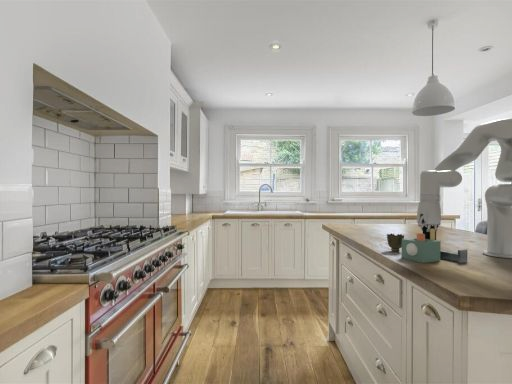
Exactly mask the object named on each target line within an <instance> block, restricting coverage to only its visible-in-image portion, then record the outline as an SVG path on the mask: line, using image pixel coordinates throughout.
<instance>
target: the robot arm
mask: <svg viewBox="0 0 512 384" xmlns="http://www.w3.org/2000/svg"><path fill="white" fill-rule="evenodd" d="M491 142H497V143H498V145H499V146H500V155H499V158H498V161H497V165H496V168H495V172H494V174H495V178H496V180H497V181H499V182H502V183H501V184H500V183H498V184H494V185H491V186H489V187H488V188H487V189H486V190H485V193H484V200H485V204H486V210H487V212H486V213H487V222H486V224H487V225H486V227H487V228H486V229H487V230H486V235H487V236H486V249H485V250H482V254H483V255H485V256H489V257H495V258H504V259H512V117H509V118H502V119H497V120H496V119H495V120H492V121H488V122H484V123H481V124H478V125H476V126H475V127H474V128H473V129H472V130H471V131H470V133H469V134H468V135H467V136H466V137H465V139H464V140H463V141H462V142H461V144H460V145H459V147H458V148H456V149H455V150H454V151H453V152H451V153H450V154H448V156H447V157H445V158H444V159H442V161H440V162H439V164H437V166H435V168H434V169H433V170H432V169H431V170H423V171H421V172H420V174H419V175H420V178H419V179H420V180H419V181H420V183H419V186H420V187H419V202H418V206H417V212H416V213H417V214H416V222H417V226H418V227H419V228H420V229H421V231H422V234H425V239H430V232H429V228H432V229H435V240H436V241H437V231H438V228H439V227H440V226H441V222H442V212H441V211H442V210H441V209H442V208H441V203H440V202H441V201H440V200H441V195H440V194H441V188H455V187H458V186H459V185H460V184H461V183H462V182H463V176H462V174H461V173H460V172H459V171H458V169H460V168H461V167H464V166H467V165H469V164H470V163H472V162H474V161H475V160H477V159H478V157H480V155H481V154H482V152H483V151H484V150H485V149H486V148H487V147H488V146H489V145H490V143H491ZM503 183H504V184H503ZM508 183H509V184H508Z"/></svg>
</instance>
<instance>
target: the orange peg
mask: <svg viewBox="0 0 512 384" xmlns="http://www.w3.org/2000/svg"><path fill="white" fill-rule="evenodd" d="M416 238H417V240H419V241H425V234H423V233H416Z"/></svg>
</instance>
